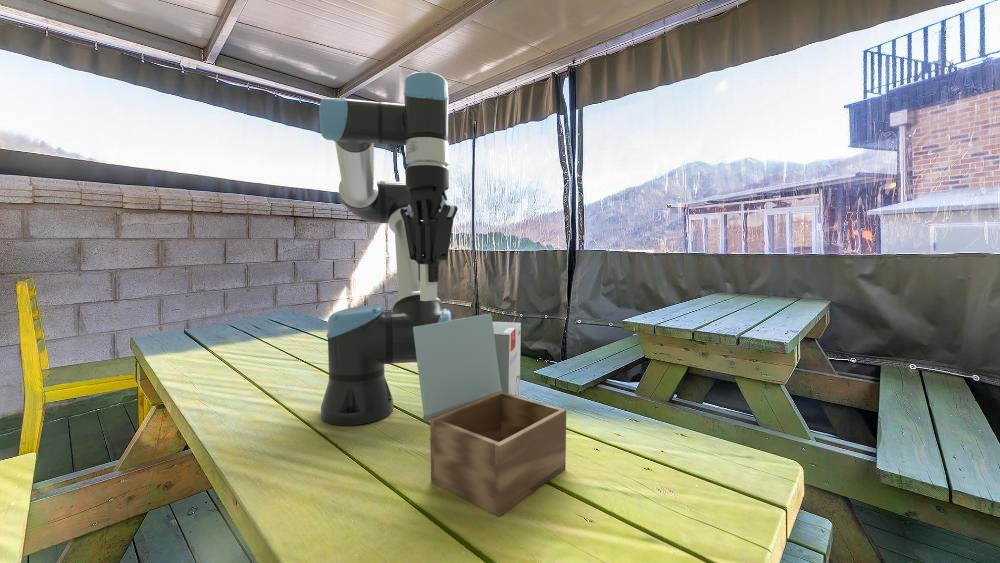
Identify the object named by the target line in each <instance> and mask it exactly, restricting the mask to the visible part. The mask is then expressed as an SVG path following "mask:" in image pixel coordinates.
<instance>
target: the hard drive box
mask: <svg viewBox="0 0 1000 563" xmlns="http://www.w3.org/2000/svg"><path fill="white" fill-rule="evenodd" d="M492 322H493V330H494V337H495V345H496V353H497V360H498V368H499V376H500V383H501V388H502V392H504V393H508V394H511V395H515V396H518V397H521V343H522V342H521V339H522V336H521V335H522V334H521V333H522V332H521V331H522V329H521V328H522V323H521V322H515V321H514V322H513V321H512V322H511V321H510V322H509V321H492Z"/></svg>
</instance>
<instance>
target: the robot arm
mask: <svg viewBox="0 0 1000 563" xmlns="http://www.w3.org/2000/svg"><path fill="white" fill-rule="evenodd" d="M448 88H449V86H448V82H447V80H446V79H445V77H443V76H442V75H440V74H439V73H436V72H429V71H416V72H412V73H410V74H408V75H407V76H406V78H405V80H404V92H403V96H404V103H394V102H392V103H391V102H380V101H372V100H361V99H351V98H345V97H339V98H338V97H325V98H322V99H321V100H320V102H319V115H318V116H319V128H320V134H321V136H322V138H323V139H325V140H327V141H333V142H335V150H336V155H337V161H338V166H339V173H340V179H341V180H340V182H339V184H338V192H339V193H338V194H339V197H340V200H341V202H342V204H343V205H344V206H345V208H346V209H347V210H348V211H349V212H351V214H353V215H354V216H355V217H356V216H357V218H359V219H361V220H362V221H363V220H364V221H366V222H369V223H372V224H388V226H389V229H390V230H391V232H393V233H394V244H395V258H396V276H397V293H398V295H397V296H398V300H396V301H395V302H394V303H393V305H392V310H391V311H385V308H384V306H383V305H382V304H367V305H361V306H353V307H349V308H345V309H340V310H338V311H336V312H334V313H332V314H331V315H330V316H329V317H328V320H327V334H326V339H327V348H328V349H327V350H328V351H327V352H328V353H327V354H328V360H327V361H328V383H327V385H326V390H325V393H324V396H323V398H322V399H323V400H322V403H321V406H320V416H321V420H322V421H324V422H325V423H327V424H330V425H335V426H357V425H358V426H359V425H365V424H370V423H375V422H377V421H380V420H382V419H384V418H386V417H388V416H390V415H391V413H393V411H394V399H393V395H392V392H391V390H390V388H389V385H388V382H387V379H386V377H385V374H386V373H385V365H390V364H391V365H393V364H395V365H396V364H406V363H407V364H408V363H409V364H410V363H417V357H416V349H415V341H414V333H413V327H416V326H422V325H428V324H434V323H439V322H445V321H451V320H452V312H451V310H450V309H448V308H444V307H443V303H442V301H441V299H440V298H438V282H439V278H440V277H439V272H440V271H439V265H440V263H441V262H442V261H447V260H448V257H449V250H450V244H451V237H452V233H453V225H454V219H455V217H456V215H457V212H458V210H459V208H458V205H455V204H454V205H453V204H451V203H450V202H449V201H448V196H447V194H446V191H448V189H449V188H450V184H449V183H450V182H449V181H450V180H449V179H450V178H449V177H450V175H449V174H450V171H449V169H448V168H447V167H448V166H449V165H450V159H449V158H450V157H449V155H450V152H449V151H450V149H449V100H450V97H449V89H448ZM374 144H382V145H383V144H384V145H393V146H394V145H396V146H405V164H406V165H407V167H406V169H405V181H397V180H396V181H394V180H392V181H391V180H375V171H374V170H375V162H374V160H375V156H374V155H375V154H374V153H375V151H374V150H375V149H374V147H375V146H374Z"/></svg>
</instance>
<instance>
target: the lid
mask: <svg viewBox="0 0 1000 563" xmlns="http://www.w3.org/2000/svg"><path fill="white" fill-rule="evenodd" d="M493 322H494V321H493V317H492V313H485V314H480V315H474V316H468V317H463V318H458V319H451V321H445V322H439V323H434V324H428V325H422V326H416V327H413V333H414V341H415V349H416V357H417V362H416V363H417V372H418V380H419V381H418V382H419V389H420V395H421V404H422V411H423V412H422V413H423V416H422V418H423V421H424V422H425V423H428V422H430V419H432V418H435V417H437V416H440V415H443V414H445V413H448V412H450V411H453V410H455V409H458V408H460V407H463V406H465V405H468V404H470V403H473V402H476V401H478V400H481V399H483V398H486V397H488V396H491V395H493V394H496V393H498V392H502V388H501V383H500V376H499V368H498V360H497V353H496V345H495V337H494V330H493Z"/></svg>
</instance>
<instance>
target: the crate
mask: <svg viewBox="0 0 1000 563" xmlns="http://www.w3.org/2000/svg"><path fill="white" fill-rule="evenodd" d="M429 423H430V424H429V425H430V426H429V428H430V429H429V430H430V432H429V433H430V438H429V440H430V482H431V483H433V484H435V485H437V486H438V487H440V488H442V489H445V490H447V491H448V492H450V493H452V494H454V495H456V496H458V497H460V498H461V499H464V500H465V501H467V502H469V503H470V504H473V505H475V506H477V507H480V509H482V510H485V511H487V512H488V513H490V514H493V515H495V516H496V517H498V518H501V517H502V516H504V515H505V514H506V513H508V512H509V511H510V510H512V509H513V508H514V507H516V506H517V505H518V504H520V503H521V502H522V501H524V500H525V499H526V498H528V497H529V496H531V495H532V494H533V493H535V492H536V491H538V490H539V489H540V488H542V487H543V486H544V485H545V484H547V483H548V482H550V481H551V480H552V479H554V478H555V477H556V476H557V475H559V474H560V473H562V472H563V471H564V470H566V467H567V466H566V460H567V459H566V458H567V457H566V454H567V452H566V450H567V409H564V408H560V407H557V406H555V405H554V406H553V405H550V404H548V403H543V402H540V401H537V400H531V399H528V398H525V397H522V396H520V397H518V396H515V395H511V394H508V393H504V392H498V393H496V394H493V395H491V396H488V397H486V398H483V399H481V400H478V401H476V402H473V403H470V404H468V405H465V406H463V407H460V408H458V409H455V410H453V411H450V412H448V413H445V414H443V415H440V416H437V417H435V418H432V419H430V421H429Z"/></svg>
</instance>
